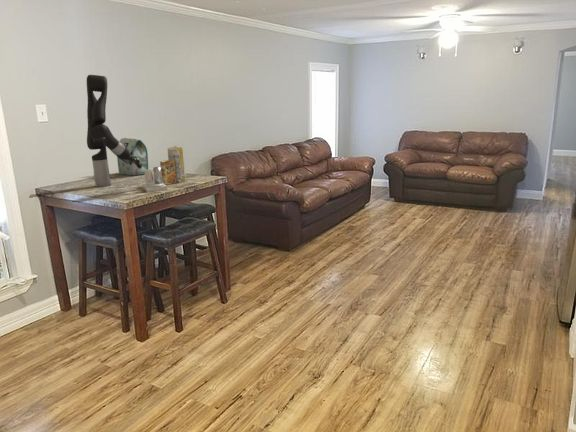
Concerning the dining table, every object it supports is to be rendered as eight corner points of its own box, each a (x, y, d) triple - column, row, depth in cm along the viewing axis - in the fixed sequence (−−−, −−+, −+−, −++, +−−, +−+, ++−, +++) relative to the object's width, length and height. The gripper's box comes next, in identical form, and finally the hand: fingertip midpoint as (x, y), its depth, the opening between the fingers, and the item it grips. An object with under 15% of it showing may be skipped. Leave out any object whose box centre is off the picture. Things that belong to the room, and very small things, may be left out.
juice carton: (187, 180, 304) (184, 145, 298) (180, 182, 297) (176, 146, 291) (176, 179, 308) (173, 144, 302) (169, 182, 301) (165, 146, 295)
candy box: (166, 185, 291) (164, 161, 287) (162, 184, 293) (159, 161, 289) (176, 182, 298) (174, 159, 294) (172, 182, 300) (170, 159, 296)
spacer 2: (155, 184, 277) (153, 168, 274) (154, 183, 281) (152, 167, 278) (162, 183, 279) (161, 167, 276) (161, 182, 282) (159, 166, 280)
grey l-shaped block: (147, 192, 271) (144, 173, 268) (142, 188, 284) (140, 170, 281) (167, 189, 276) (165, 171, 273) (161, 185, 289) (160, 168, 286)
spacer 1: (133, 175, 274) (131, 159, 271) (132, 174, 278) (130, 158, 275) (140, 174, 276) (139, 158, 273) (139, 173, 280) (137, 157, 277)
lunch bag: (115, 174, 340) (111, 138, 333) (135, 171, 352) (131, 136, 345) (132, 177, 325) (127, 139, 318) (152, 173, 337) (147, 137, 330)
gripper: (130, 145, 262) (149, 163, 275) (115, 144, 269) (133, 161, 282) (123, 155, 259) (142, 173, 272) (108, 154, 267) (127, 171, 280)
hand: (138, 167), depth 277 cm, fingers closed on spacer 1, 4 cm apart
